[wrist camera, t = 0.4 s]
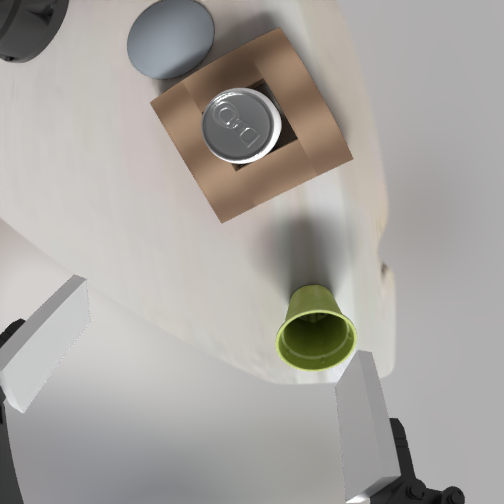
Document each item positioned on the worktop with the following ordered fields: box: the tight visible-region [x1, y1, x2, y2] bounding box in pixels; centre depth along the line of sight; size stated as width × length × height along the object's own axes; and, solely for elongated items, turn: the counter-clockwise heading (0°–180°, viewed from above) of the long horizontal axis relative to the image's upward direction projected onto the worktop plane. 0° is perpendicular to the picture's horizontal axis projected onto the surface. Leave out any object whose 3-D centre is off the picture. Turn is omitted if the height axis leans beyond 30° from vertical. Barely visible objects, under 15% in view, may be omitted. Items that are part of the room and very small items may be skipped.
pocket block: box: [150, 27, 353, 223], centre depth 31 cm, size 16×16×4 cm
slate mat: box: [127, 0, 214, 79], centre depth 29 cm, size 11×11×1 cm
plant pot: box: [275, 285, 357, 371], centre depth 38 cm, size 9×9×9 cm
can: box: [201, 88, 281, 164], centre depth 27 cm, size 6×6×12 cm
